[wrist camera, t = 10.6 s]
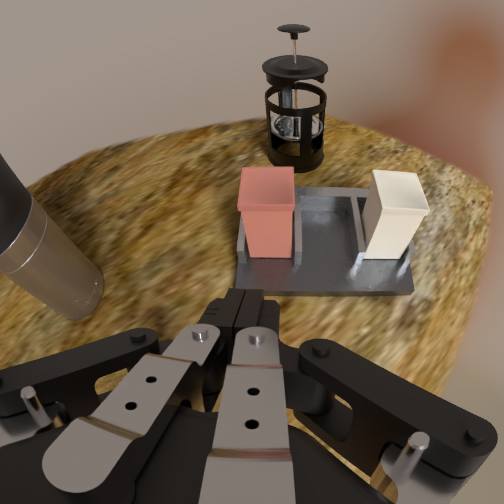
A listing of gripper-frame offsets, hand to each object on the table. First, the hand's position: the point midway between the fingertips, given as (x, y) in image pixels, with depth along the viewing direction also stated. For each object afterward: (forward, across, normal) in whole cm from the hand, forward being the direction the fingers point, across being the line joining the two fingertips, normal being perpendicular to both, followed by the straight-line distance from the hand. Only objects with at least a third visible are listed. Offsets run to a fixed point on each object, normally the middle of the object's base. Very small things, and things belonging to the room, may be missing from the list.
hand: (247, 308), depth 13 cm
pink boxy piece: (+25, 0, +2) cm, 25 cm away
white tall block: (+25, -14, +2) cm, 29 cm away
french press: (+40, -3, -10) cm, 41 cm away
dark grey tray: (+26, -7, +4) cm, 27 cm away
